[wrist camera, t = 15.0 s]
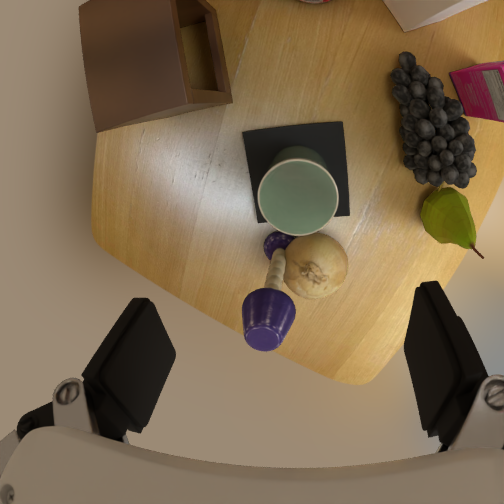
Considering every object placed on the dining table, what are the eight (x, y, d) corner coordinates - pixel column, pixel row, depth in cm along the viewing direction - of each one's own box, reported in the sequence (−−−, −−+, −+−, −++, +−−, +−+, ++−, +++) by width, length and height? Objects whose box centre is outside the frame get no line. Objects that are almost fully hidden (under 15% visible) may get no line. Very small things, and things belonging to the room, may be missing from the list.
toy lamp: (253, 242, 37) (221, 336, 23) (281, 218, 35) (263, 308, 21) (280, 267, 38) (263, 368, 24) (307, 246, 36) (307, 345, 22)
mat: (242, 132, 31) (242, 132, 31) (342, 121, 29) (342, 121, 28) (258, 221, 36) (257, 223, 36) (349, 214, 34) (349, 215, 33)
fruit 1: (406, 42, 16) (450, 209, 22) (462, 40, 16) (497, 183, 22) (358, 62, 24) (399, 191, 30) (413, 54, 24) (446, 171, 30)
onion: (357, 250, 36) (367, 281, 30) (317, 291, 39) (319, 326, 33) (308, 212, 34) (310, 238, 28) (270, 258, 38) (263, 291, 32)
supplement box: (479, 61, 21) (536, 57, 11) (495, 106, 23) (553, 117, 13) (446, 70, 23) (501, 65, 13) (464, 117, 25) (521, 130, 15)
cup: (264, 148, 31) (251, 164, 23) (325, 141, 30) (335, 155, 22) (272, 205, 34) (263, 239, 26) (331, 200, 33) (340, 233, 25)
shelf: (152, 29, 26) (78, 6, 14) (215, 9, 24) (164, -36, 12) (167, 117, 31) (95, 133, 19) (233, 102, 30) (188, 104, 17)
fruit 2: (429, 172, 29) (479, 207, 19) (463, 195, 30) (515, 237, 19) (405, 216, 33) (443, 267, 22) (440, 236, 33) (481, 289, 22)
